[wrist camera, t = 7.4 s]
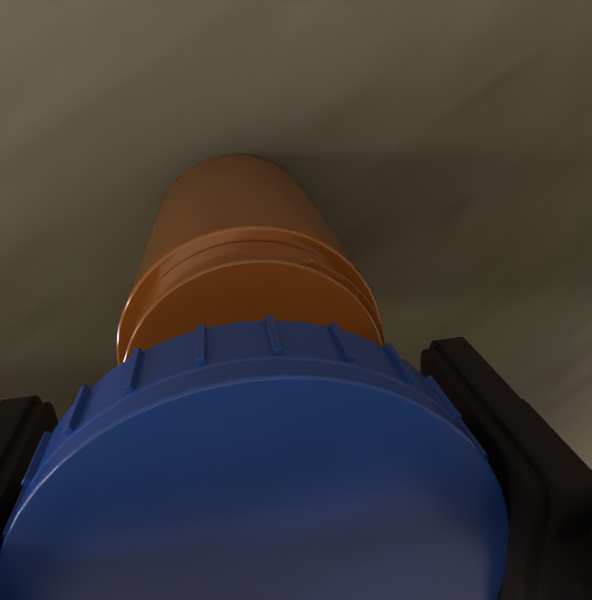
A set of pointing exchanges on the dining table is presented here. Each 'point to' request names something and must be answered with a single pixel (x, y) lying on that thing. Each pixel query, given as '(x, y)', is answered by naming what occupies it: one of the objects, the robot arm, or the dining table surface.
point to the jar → (241, 259)
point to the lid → (258, 479)
